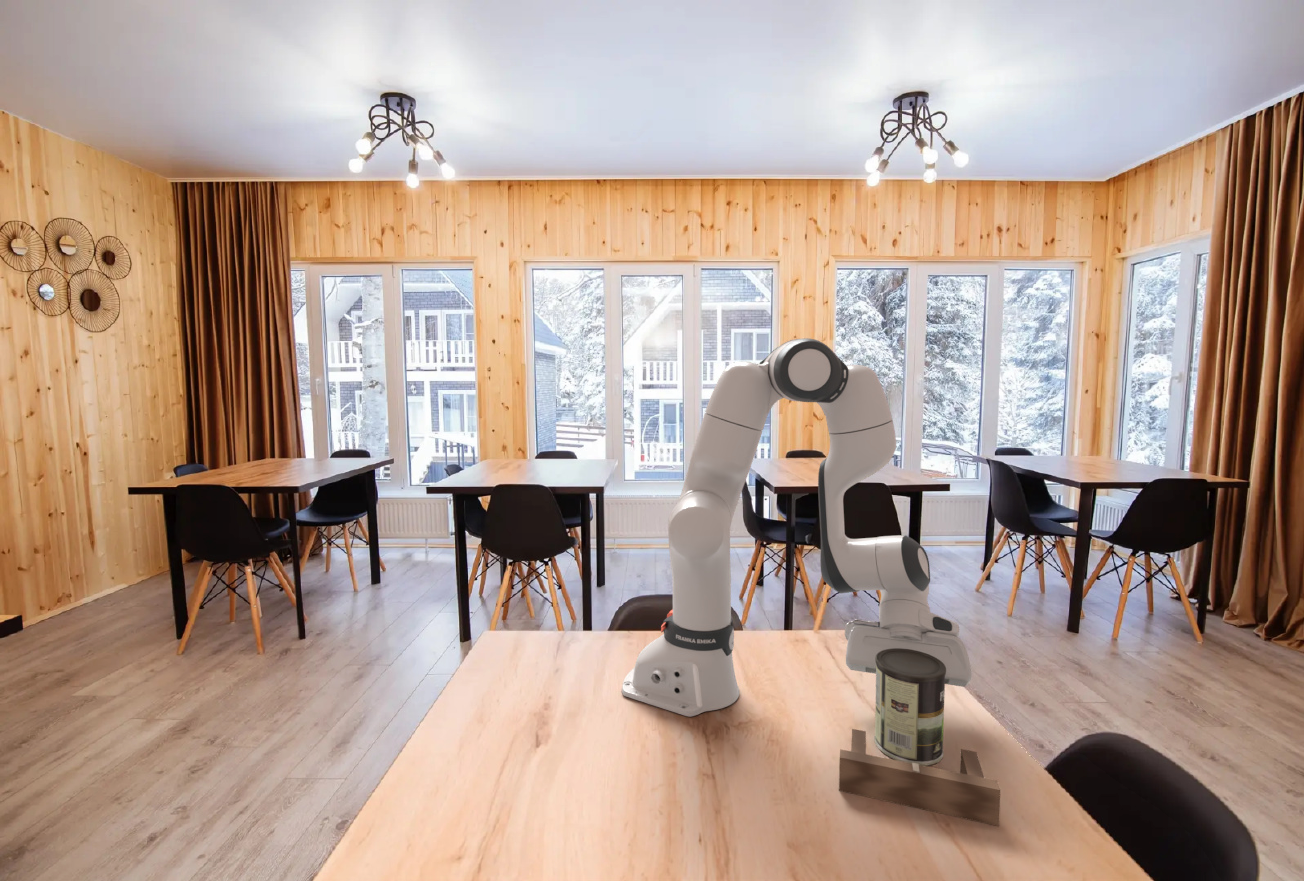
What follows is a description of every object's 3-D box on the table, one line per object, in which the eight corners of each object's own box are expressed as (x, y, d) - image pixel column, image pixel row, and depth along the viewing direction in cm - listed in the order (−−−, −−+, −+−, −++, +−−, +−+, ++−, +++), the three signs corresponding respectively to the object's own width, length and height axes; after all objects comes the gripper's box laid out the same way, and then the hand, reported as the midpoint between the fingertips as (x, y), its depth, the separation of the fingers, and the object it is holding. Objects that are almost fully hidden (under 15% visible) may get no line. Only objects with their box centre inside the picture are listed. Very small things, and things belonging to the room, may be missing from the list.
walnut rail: (839, 790, 82) (839, 756, 82) (841, 757, 90) (841, 725, 89) (999, 826, 75) (1000, 788, 75) (987, 787, 82) (988, 752, 82)
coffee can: (935, 732, 96) (937, 651, 95) (950, 771, 86) (953, 681, 85) (870, 723, 99) (871, 644, 97) (877, 760, 89) (879, 673, 88)
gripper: (845, 610, 107) (842, 686, 98) (968, 625, 100) (977, 707, 91) (845, 625, 111) (842, 698, 103) (963, 639, 104) (971, 719, 96)
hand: (907, 703), depth 97 cm, fingers closed, pressing on coffee can
